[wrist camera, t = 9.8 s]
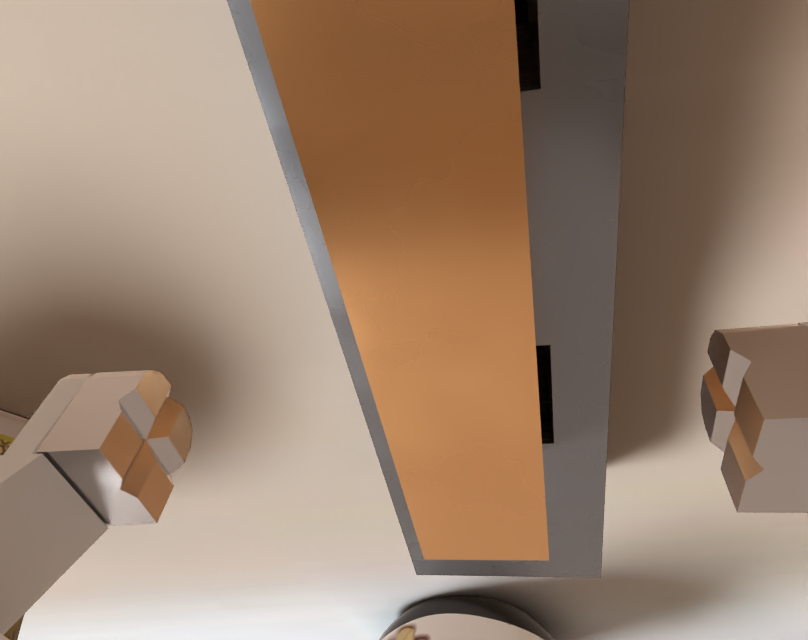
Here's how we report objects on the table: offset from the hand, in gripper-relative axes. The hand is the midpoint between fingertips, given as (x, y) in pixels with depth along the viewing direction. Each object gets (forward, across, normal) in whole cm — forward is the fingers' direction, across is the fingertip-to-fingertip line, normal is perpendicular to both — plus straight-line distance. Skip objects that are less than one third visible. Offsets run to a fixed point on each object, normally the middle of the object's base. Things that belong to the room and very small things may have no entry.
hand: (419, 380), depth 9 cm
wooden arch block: (+8, 0, 0) cm, 8 cm away
